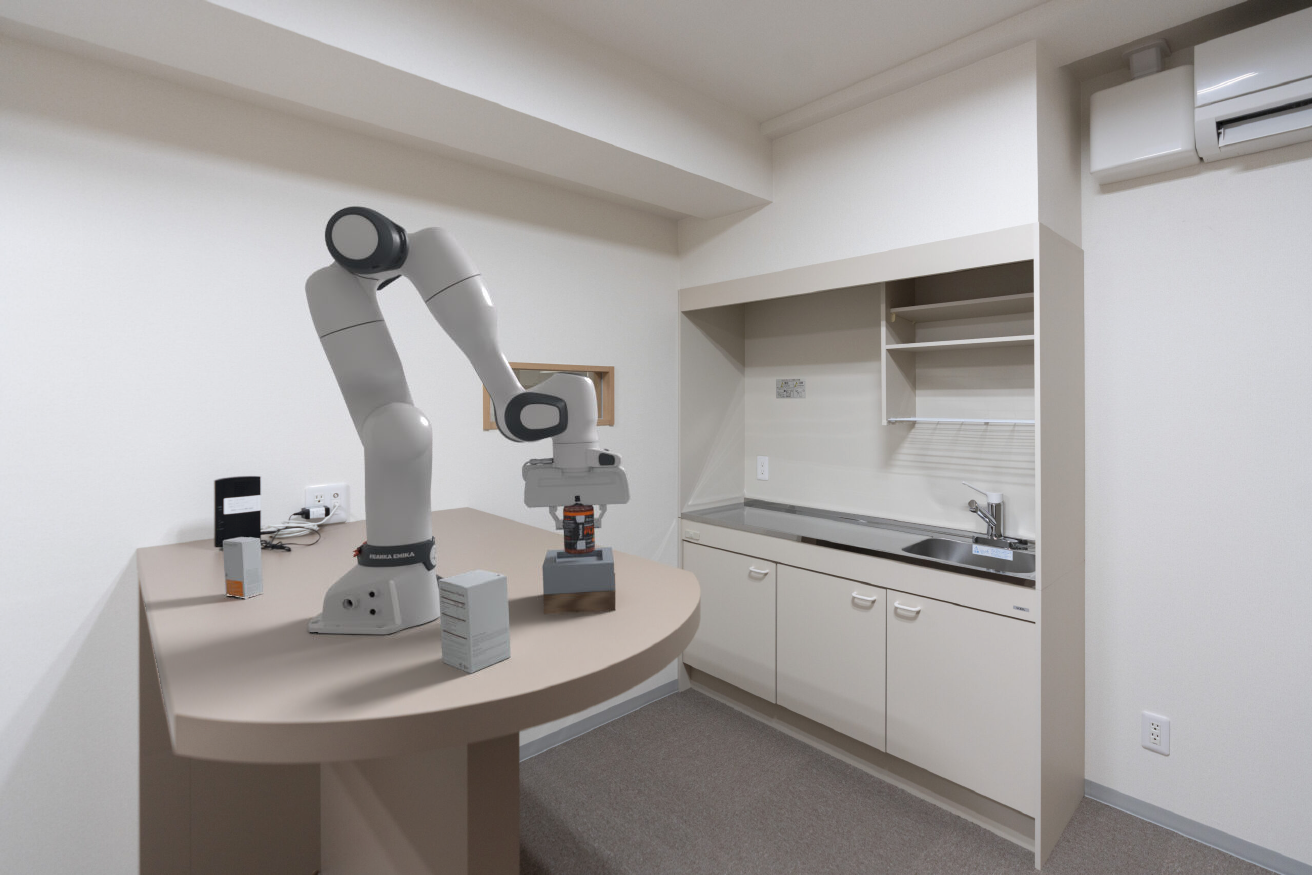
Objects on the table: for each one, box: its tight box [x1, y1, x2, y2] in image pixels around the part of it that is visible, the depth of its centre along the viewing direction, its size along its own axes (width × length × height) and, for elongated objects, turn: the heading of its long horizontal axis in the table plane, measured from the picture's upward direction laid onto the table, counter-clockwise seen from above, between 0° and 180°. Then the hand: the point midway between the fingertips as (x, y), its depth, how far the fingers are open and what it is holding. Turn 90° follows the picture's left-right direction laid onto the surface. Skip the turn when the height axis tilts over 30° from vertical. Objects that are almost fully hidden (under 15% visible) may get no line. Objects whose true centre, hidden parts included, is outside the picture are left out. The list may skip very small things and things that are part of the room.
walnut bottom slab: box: [542, 572, 617, 615], centre depth 121 cm, size 13×13×4 cm
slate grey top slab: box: [542, 546, 616, 595], centre depth 121 cm, size 13×13×5 cm
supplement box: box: [437, 568, 512, 674], centre depth 93 cm, size 7×7×13 cm
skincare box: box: [222, 536, 264, 597], centre depth 131 cm, size 6×4×12 cm
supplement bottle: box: [562, 495, 596, 554], centre depth 120 cm, size 6×6×11 cm
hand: (579, 528), depth 120 cm, fingers closed on supplement bottle, 6 cm apart
